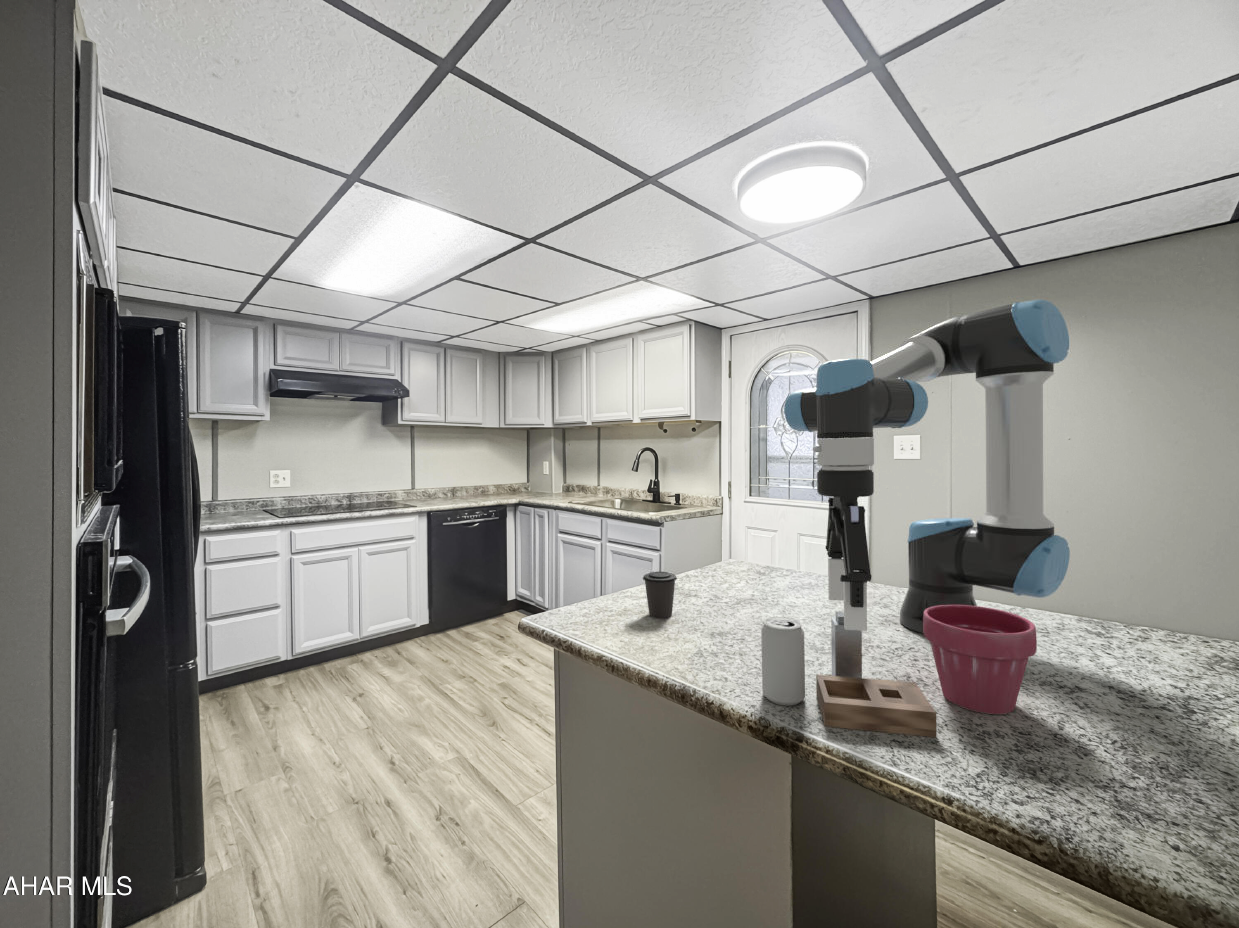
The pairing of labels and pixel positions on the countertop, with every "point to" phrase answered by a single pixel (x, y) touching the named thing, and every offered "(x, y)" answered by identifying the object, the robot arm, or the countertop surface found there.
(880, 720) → the socket block
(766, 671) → the beverage can
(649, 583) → the coffee cup
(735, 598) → the countertop surface
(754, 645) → the countertop surface
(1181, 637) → the countertop surface
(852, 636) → the grey square peg
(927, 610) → the plant pot
